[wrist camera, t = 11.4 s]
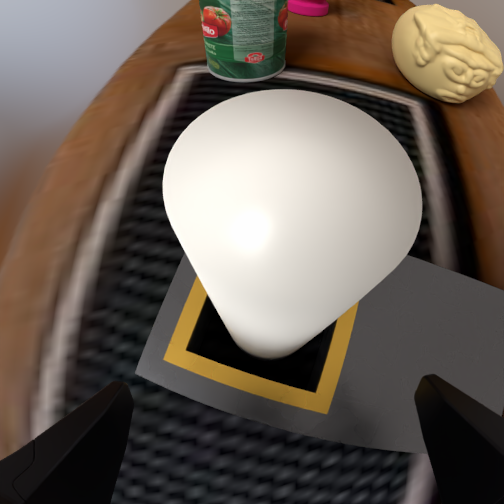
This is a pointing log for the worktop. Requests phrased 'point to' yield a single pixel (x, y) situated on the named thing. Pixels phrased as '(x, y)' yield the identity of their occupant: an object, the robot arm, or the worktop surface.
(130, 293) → the worktop surface
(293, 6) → the pepper mill
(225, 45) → the canned tomato
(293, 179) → the peg
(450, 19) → the sculpture
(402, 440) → the grey board with holes
